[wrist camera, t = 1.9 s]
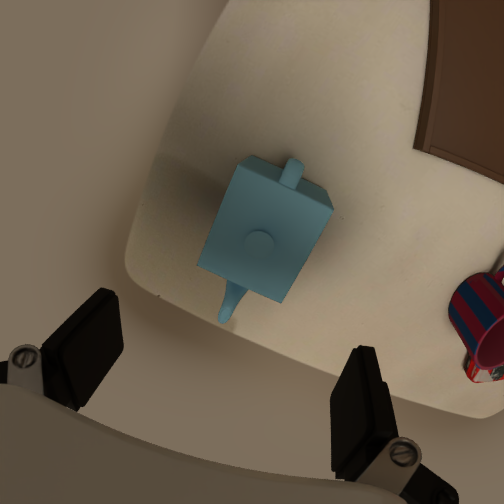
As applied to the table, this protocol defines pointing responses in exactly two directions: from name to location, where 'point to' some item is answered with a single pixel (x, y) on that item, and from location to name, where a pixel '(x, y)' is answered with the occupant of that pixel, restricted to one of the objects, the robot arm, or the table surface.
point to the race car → (483, 373)
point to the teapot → (264, 230)
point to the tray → (465, 86)
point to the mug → (481, 318)
